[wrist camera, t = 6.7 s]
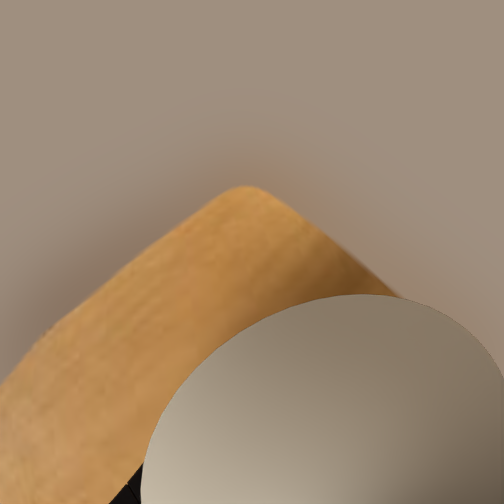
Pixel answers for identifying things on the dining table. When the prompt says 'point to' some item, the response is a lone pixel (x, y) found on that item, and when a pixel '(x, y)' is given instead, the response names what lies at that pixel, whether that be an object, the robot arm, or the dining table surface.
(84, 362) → the dining table surface
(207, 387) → the peg
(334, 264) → the dining table surface
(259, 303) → the dining table surface
